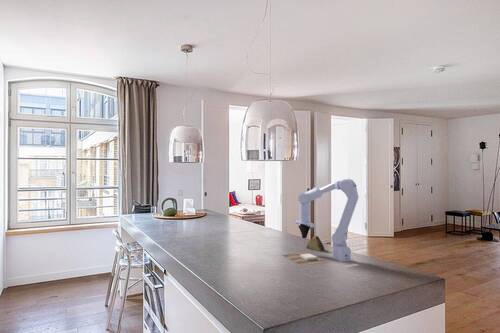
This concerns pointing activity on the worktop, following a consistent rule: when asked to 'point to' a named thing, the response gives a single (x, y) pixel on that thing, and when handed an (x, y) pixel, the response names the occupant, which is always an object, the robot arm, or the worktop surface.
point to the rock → (315, 244)
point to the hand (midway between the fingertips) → (304, 238)
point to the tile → (308, 257)
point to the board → (297, 259)
